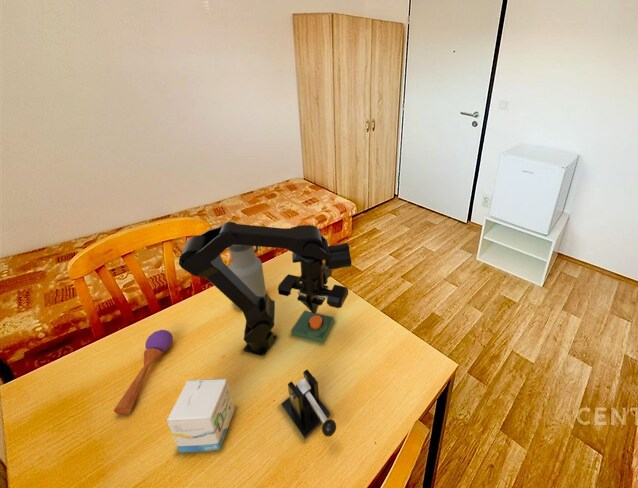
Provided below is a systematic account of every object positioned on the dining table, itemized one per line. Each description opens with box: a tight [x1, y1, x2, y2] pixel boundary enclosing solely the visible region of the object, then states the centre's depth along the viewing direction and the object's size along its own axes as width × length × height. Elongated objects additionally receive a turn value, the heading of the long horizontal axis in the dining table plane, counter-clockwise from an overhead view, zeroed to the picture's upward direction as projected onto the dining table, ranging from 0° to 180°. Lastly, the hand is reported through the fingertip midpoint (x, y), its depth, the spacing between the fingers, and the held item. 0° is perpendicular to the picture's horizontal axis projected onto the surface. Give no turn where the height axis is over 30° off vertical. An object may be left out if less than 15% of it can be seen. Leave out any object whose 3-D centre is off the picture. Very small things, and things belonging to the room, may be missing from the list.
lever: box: [295, 377, 337, 438], centre depth 70 cm, size 13×3×3 cm, turn 48°
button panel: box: [290, 309, 335, 344], centre depth 96 cm, size 10×8×4 cm
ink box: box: [166, 378, 235, 454], centre depth 69 cm, size 9×8×12 cm
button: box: [309, 315, 322, 329], centre depth 94 cm, size 4×4×2 cm
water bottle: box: [227, 245, 267, 310], centre depth 99 cm, size 10×10×28 cm
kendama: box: [113, 329, 174, 415], centre depth 80 cm, size 6×6×20 cm
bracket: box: [281, 369, 331, 440], centre depth 74 cm, size 10×7×11 cm
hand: (314, 312), depth 92 cm, fingers closed
